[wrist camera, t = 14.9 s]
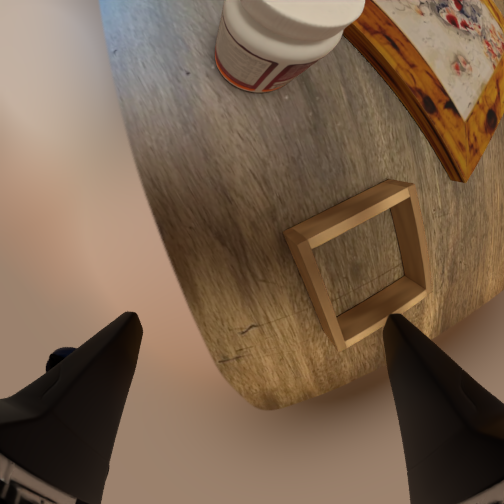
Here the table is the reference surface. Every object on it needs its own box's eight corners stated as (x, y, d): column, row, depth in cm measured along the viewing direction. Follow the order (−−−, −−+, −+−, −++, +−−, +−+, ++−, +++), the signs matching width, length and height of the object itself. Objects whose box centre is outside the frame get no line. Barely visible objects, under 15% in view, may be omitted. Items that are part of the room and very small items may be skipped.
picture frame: (264, -47, 13) (409, -89, 9) (259, -33, 15) (402, -84, 11) (465, 182, 22) (525, 56, 18) (451, 180, 24) (516, 57, 20)
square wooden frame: (323, 331, 26) (338, 352, 23) (282, 231, 22) (296, 244, 19) (411, 278, 26) (433, 291, 23) (389, 178, 22) (414, 183, 19)
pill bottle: (297, 32, 17) (372, -41, 7) (293, 100, 19) (380, 56, 9) (218, 20, 16) (241, -76, 6) (209, 90, 18) (223, 19, 7)
